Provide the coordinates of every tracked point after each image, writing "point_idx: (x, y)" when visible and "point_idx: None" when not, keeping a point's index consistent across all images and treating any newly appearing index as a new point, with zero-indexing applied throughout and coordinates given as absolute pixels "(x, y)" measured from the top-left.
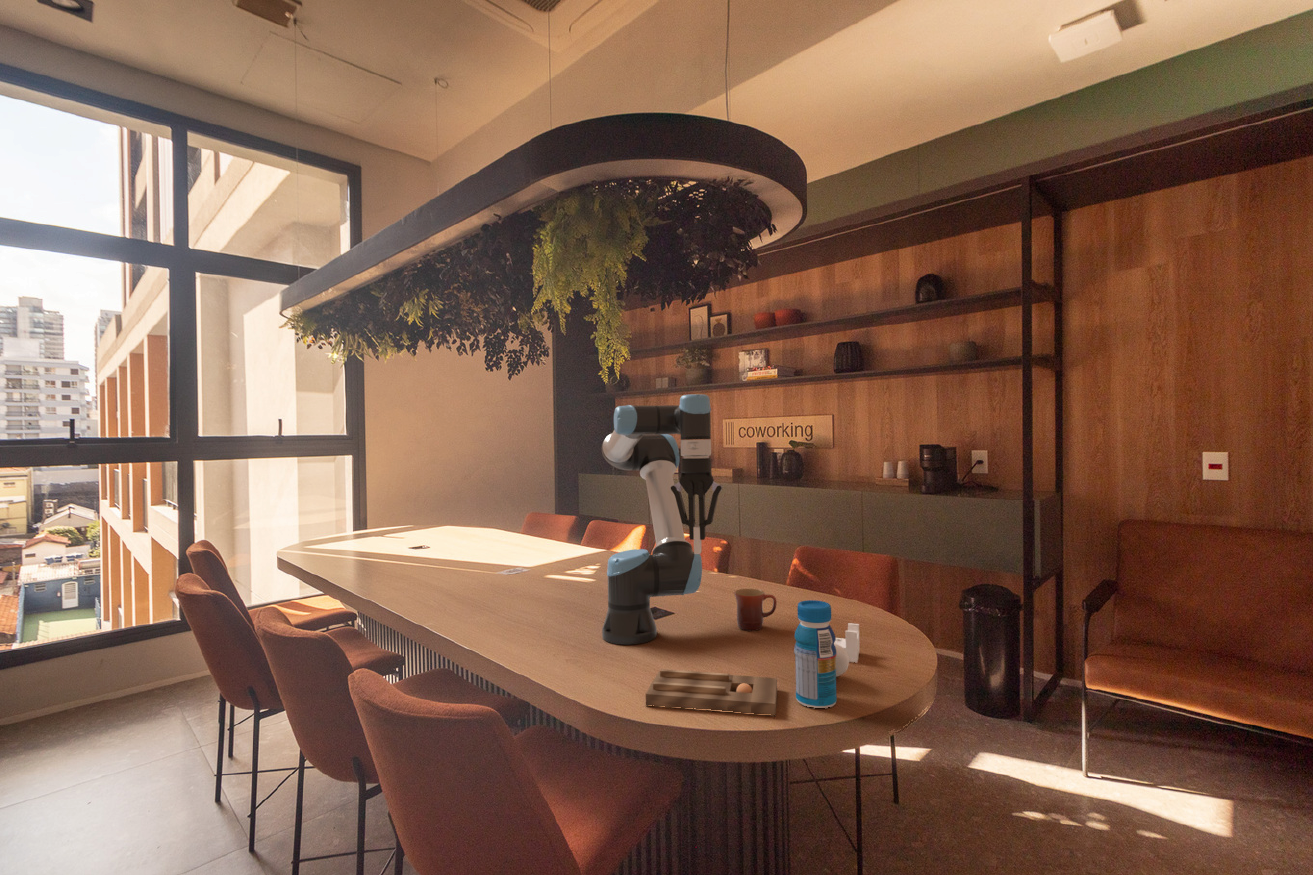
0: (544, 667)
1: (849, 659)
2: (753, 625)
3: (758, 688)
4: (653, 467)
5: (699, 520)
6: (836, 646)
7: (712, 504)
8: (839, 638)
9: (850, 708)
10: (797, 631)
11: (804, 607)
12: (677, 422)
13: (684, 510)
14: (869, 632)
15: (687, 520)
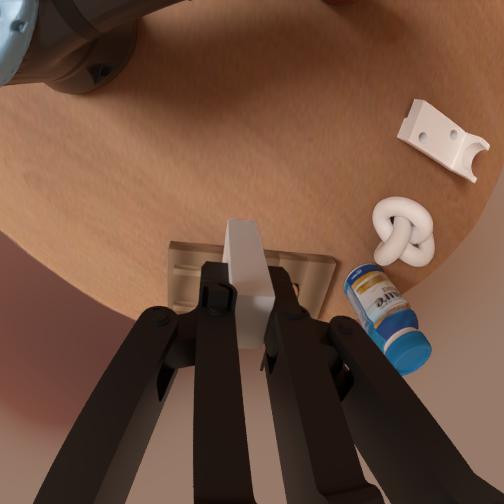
0: (14, 209)
1: (444, 166)
2: (343, 4)
3: (305, 294)
4: None
5: (268, 378)
6: (426, 264)
7: (379, 460)
8: (457, 128)
9: None
10: (376, 342)
11: None
12: None
13: (150, 412)
14: (490, 61)
15: (183, 365)
